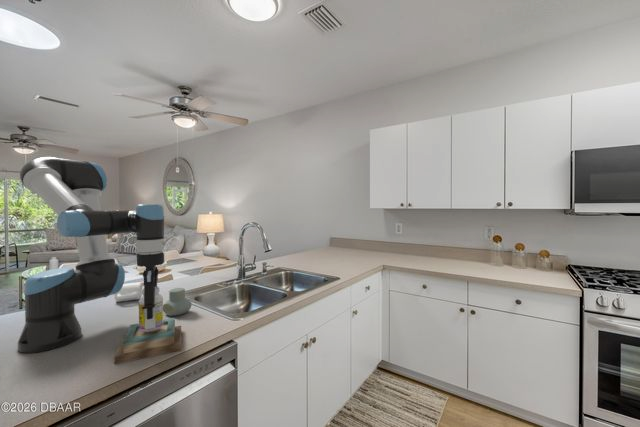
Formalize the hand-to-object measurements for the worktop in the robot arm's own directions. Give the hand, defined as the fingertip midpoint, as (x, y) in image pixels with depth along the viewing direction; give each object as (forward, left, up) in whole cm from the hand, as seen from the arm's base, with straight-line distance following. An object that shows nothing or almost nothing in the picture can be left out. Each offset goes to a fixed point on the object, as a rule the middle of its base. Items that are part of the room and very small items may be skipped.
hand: (151, 323), depth 89 cm
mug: (-14, +54, -7) cm, 56 cm away
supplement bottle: (0, 0, -2) cm, 2 cm away
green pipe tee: (+7, +27, -7) cm, 29 cm away
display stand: (0, 0, -7) cm, 7 cm away
